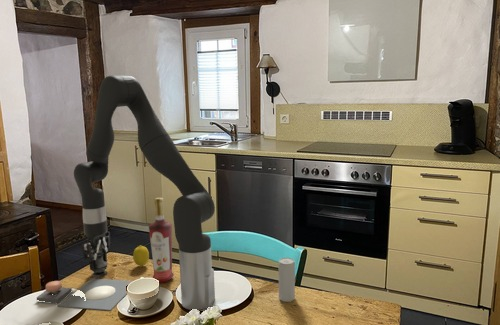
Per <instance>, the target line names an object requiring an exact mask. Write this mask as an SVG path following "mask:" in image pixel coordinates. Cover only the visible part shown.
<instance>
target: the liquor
mask: <svg viewBox="0 0 500 325" xmlns="http://www.w3.org/2000/svg"><path fill="white" fill-rule="evenodd" d="M154 206H155V217H154V218H155V220H154V221H153V222H151V224H150V225H149V226H148V231H149V241H150V248H151V255H152V256H151V257H152V264H153V265H152V266H153V275H152V279H153V278H155V279H157V280H159V282H158V283H160V284H161V283H163V284H164V283H167V282H169V281H170V280H171V279H172V278H173V277H174V275H175V274H174V272H173V255H172V254H173V251H172V250H173V249H172V248H173V233H172V232H173V230H172V229H173V227H172V226H173V224H172V223H170V222H169V221H168V220H165V215H164V214H165V213H164V198H163V197H155V198H154Z"/></svg>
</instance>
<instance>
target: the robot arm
mask: <svg viewBox="0 0 500 325" xmlns="http://www.w3.org/2000/svg"><path fill="white" fill-rule="evenodd" d="M146 94H147V93H146V92H145V91H144V88H143V87H142V85H141V83H140V82H139V80H138V79H137V78H135V77H134V76H131V75H121V74H120V75H116V74H115V75H108V76H105V77H104V78H103V79H102V81H101V83H100V86H99V90H98V95H97V96H98V97H97V103H96V109H95V118H94V123H93V130H92V133H91V137H90V139H89V143H88V145H87V148H86V152H85V154H86V157H87V158H88V160H90V161H87V162H81V163H78V164H77V165H76V166H75V168H74V171H73V177H74V180H75V183H76V185H77V187H78V190H79V194H80V196H81V205H82V223H83V224H82V226H83V233H84V235H85V236H86V237H87V242H86V243H82V245H81V249H82V254H83V260H84V261H88V262H89V264H88V265H89V270H90V271H92V270H93V271H95V270H97V261H96V256H97V253H98V252H99V246H100V245H101V246H102V252H103V260H104V261H106V262H108V255H107V254H108V251H109V249H110V248H111V232H110V231H108V230H109V229H108V220H107V209H106V204H105V202H106V201H105V194H104V191H103V189H101V188H96V187H95V188H93V186H92V183H97V182H100V181H102V180H104V179H105V178H106V177H107V175H108V174H109V173H108V172H109V156H110V153H111V152H112V148H113V145H114V144H115V143H114V142H115V131H114V129H113V128H114V127H113V123H112V119H113V116H114V113H115V111H116V109H117V108H119V107H127V108H128V109H129V110H130V112H131V113H132V115H133V117H134V118H135V121H136V124H137V143H138V146H139V149H140V151H141V152H142V154H143V155H144V157H145V159H146V160H147V162H148V164H149V165H150V167H152V169H154V170H156V172H158V173H159V174H160V175H162V176H163V177H165V178H166V179H168V180H169V181H170V182H172V183H173V184H174V186H176V188H177V189H178V191H179V192H180V194H181V196H180V197H179V196H178V198H177V199H176V200H175V202H174V204H173V208H172V209H173V210H172V215H173V227H174V234H175V235H174V237H175V239H176V241H177V244H178V253H179V254H178V255H179V259H178V261H179V274H180V275H179V277H180V294H181V297H180V299H181V300H180V301H181V306H182V307H183V308H185V309H186V310H189V311H192V310H191V309H197V310H196V311H199V310H204V309H209V308H208V307H210V306H211V307H212V305H213V303H214V301H215V300H216V294H215V292H216V291H215V289H216V288H215V270H214V269H215V268H212V267H213V266H212V265H213V264H212V240H211V236H209V234H207V233H203V228H202V223H205V222H206V221H208V220H210V219H211V218H212V217H213V216H214V215H215V210H216V209H215V208H216V207H215V202H214V200H213V198H212V196H211V195H210V193H209V192H208V190H207V189H206V187H204V185H203V184H202V182H200V180H199V179H198V178H197V176H196V175H195V174H194V173H193V170H192V169H191V168H190V167H189V165H188V163H187V162H186V161H185V159H184V157H183V156H182V154H181V153H180V151H179V149H178V148H177V146H176V144H175V142H174V140H173V139H172V138H171V136H170V135H169V133H168V131H167V130H166V129H165V127H164V126H163V124H162V122H161V121H160V119H159V117H158V115H157V114H156V112H155V110H154V109H153V107H152V105H151V103H150V100H149V99H148V97H147V95H146ZM93 249H96V250H95V251H93ZM93 253H94V255H92V254H93ZM93 271H92V272H93ZM211 307H210V308H211Z"/></svg>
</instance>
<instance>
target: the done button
mask: <svg viewBox="0 0 500 325" xmlns="http://www.w3.org/2000/svg"><path fill="white" fill-rule="evenodd" d="M62 287H63V285H62V281H61V280H54V281H53V280H52V281H49V282H47V283H46V284H45V291H47V292H51V294H54V295H55V294H56V293H58V290H60V289H61V288H62Z"/></svg>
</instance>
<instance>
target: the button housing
mask: <svg viewBox="0 0 500 325" xmlns="http://www.w3.org/2000/svg"><path fill="white" fill-rule="evenodd" d="M71 291H72V292H73V288H72V287H66V286H65V287H63V286H62V288H61V289H60V290H58V293H56V294H57V295H55V294H54V295H52V294H51V292H47V291H46V290H45V291H43V292H42V293H41V294H39V295H38V296H36V301H37V300H39V301H45V302H51V303H50V304H56V303H57V304H58V305H59V304H60V303H61V302H63V301H64V300H65V299H66V298H67V297H68V296H69V295H70V294H69V293H70V292H71ZM68 294H69V295H68ZM67 295H68V296H67ZM66 296H67V297H66ZM65 297H66V298H65ZM60 301H61V302H60Z"/></svg>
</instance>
